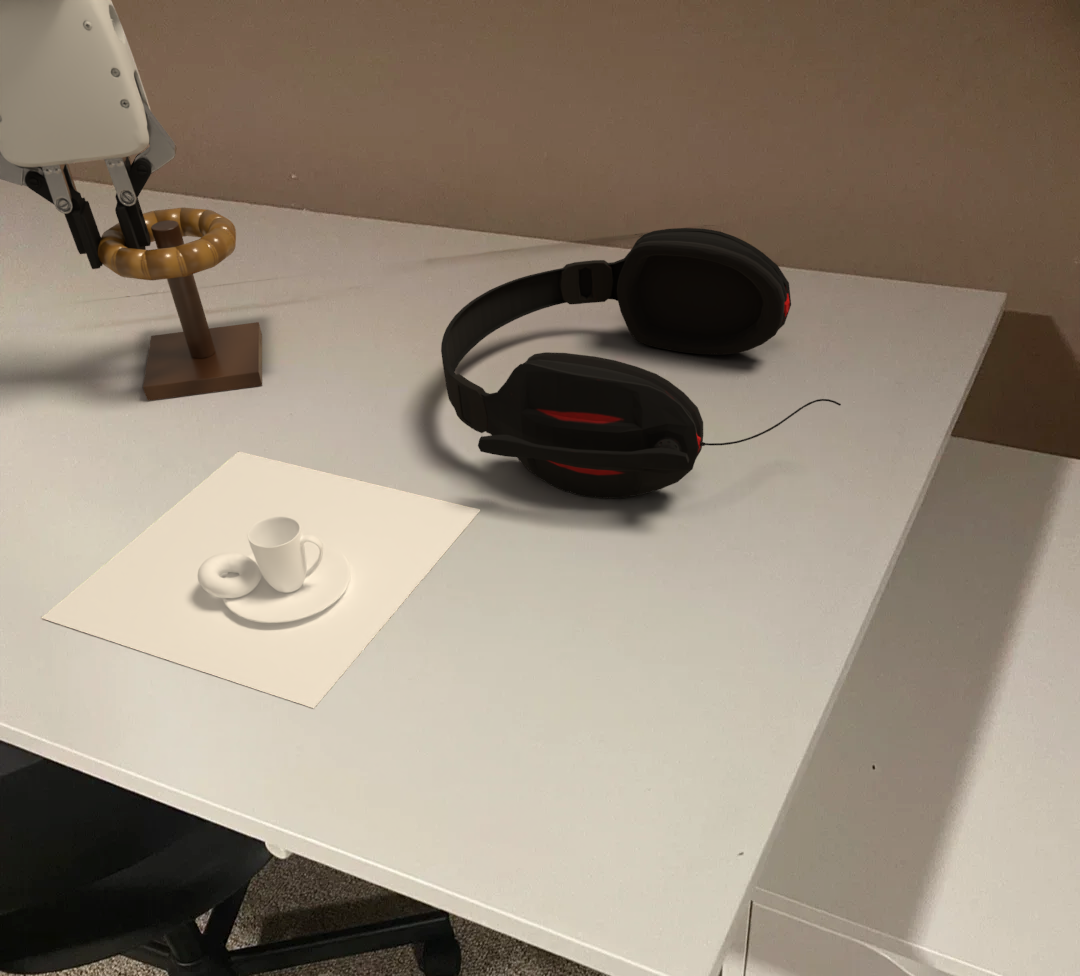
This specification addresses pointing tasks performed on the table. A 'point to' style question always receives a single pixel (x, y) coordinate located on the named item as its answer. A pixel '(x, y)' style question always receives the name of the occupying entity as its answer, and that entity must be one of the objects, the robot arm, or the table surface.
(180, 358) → the rack
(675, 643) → the table surface
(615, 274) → the headset
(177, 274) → the ring
